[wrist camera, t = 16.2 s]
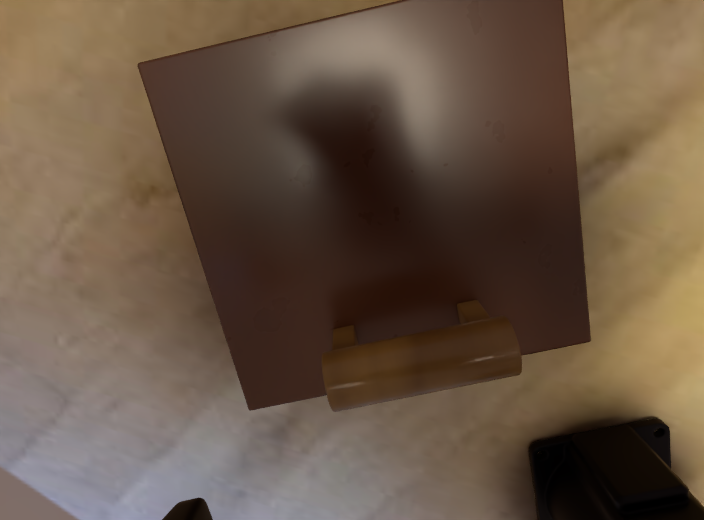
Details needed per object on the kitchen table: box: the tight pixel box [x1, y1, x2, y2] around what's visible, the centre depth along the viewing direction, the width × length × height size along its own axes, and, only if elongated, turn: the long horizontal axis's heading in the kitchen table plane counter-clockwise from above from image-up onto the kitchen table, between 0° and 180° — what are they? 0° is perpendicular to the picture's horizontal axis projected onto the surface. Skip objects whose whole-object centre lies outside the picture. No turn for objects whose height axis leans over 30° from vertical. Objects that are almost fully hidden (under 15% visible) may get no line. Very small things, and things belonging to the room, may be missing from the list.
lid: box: [138, 0, 591, 412], centre depth 13 cm, size 11×12×4 cm
